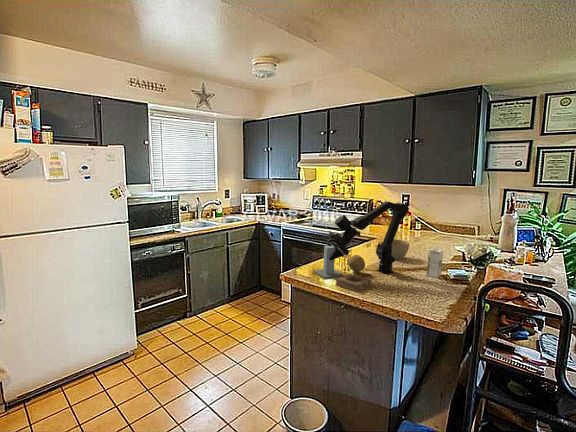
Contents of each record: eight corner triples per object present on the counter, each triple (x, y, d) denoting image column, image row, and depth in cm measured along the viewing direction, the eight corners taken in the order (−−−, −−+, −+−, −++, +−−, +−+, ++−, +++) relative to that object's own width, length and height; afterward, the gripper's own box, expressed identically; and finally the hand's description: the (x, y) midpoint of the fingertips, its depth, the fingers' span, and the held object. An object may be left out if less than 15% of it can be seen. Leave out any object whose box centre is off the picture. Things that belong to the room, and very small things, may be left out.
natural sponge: (343, 272, 180) (344, 254, 178) (354, 269, 186) (355, 252, 184) (357, 276, 173) (358, 257, 172) (367, 273, 179) (368, 255, 177)
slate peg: (330, 271, 177) (332, 245, 175) (333, 273, 173) (334, 247, 171) (323, 271, 176) (324, 246, 174) (325, 274, 172) (326, 248, 170)
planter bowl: (398, 262, 201) (399, 245, 200) (377, 256, 214) (378, 240, 213) (413, 259, 211) (414, 242, 209) (392, 253, 224) (393, 238, 222)
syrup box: (429, 273, 180) (431, 248, 178) (441, 276, 177) (443, 249, 175) (426, 276, 176) (428, 249, 174) (438, 278, 172) (440, 251, 170)
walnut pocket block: (349, 279, 167) (350, 274, 167) (370, 285, 159) (371, 279, 158) (336, 285, 158) (336, 279, 158) (357, 291, 150) (357, 285, 150)
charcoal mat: (332, 270, 183) (332, 268, 182) (344, 276, 172) (344, 274, 172) (313, 272, 178) (313, 270, 178) (324, 279, 167) (324, 277, 167)
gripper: (331, 223, 181) (311, 243, 180) (344, 229, 163) (322, 251, 162) (343, 237, 184) (324, 257, 183) (358, 244, 166) (336, 266, 165)
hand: (326, 257), depth 173 cm, fingers open, 9 cm apart
